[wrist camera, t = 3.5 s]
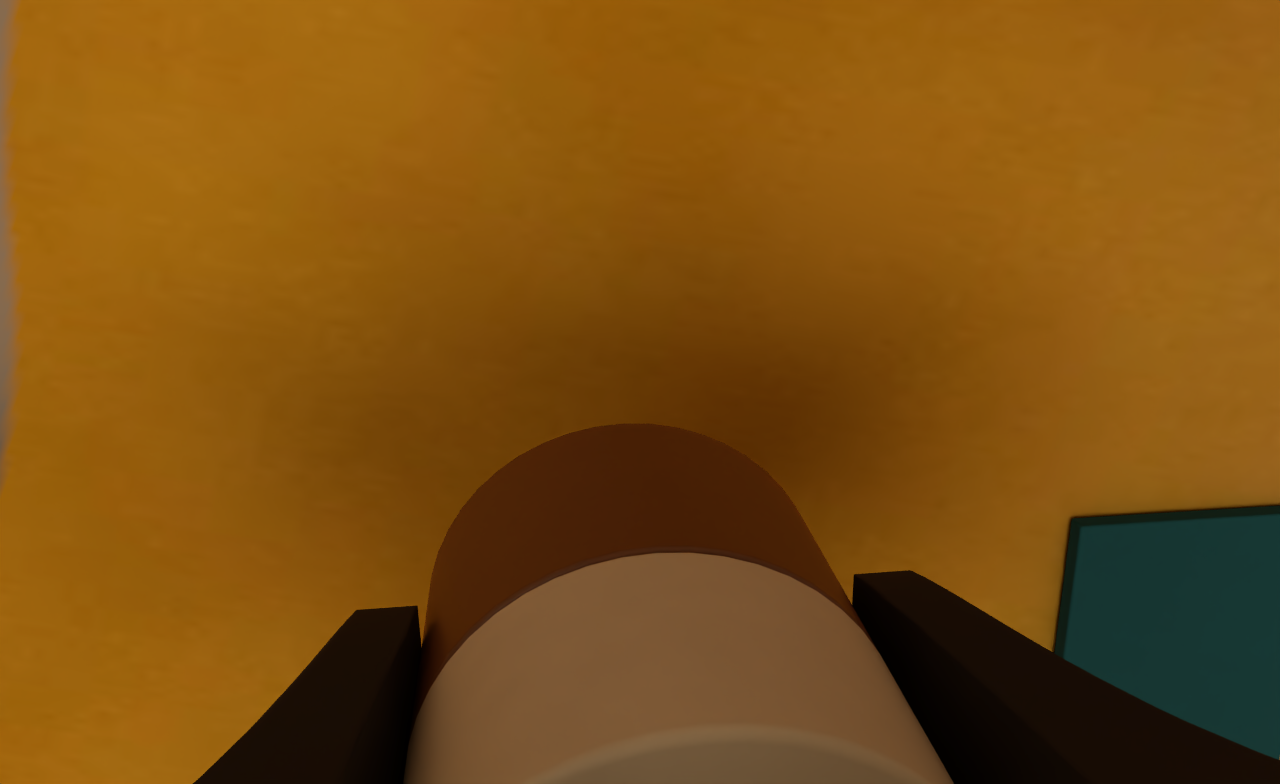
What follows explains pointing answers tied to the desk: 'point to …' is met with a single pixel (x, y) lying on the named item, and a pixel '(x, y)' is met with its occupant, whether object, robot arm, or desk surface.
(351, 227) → the desk surface
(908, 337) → the desk surface
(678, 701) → the two-tone cylinder
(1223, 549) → the flat teal panel
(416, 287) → the desk surface
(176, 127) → the desk surface
